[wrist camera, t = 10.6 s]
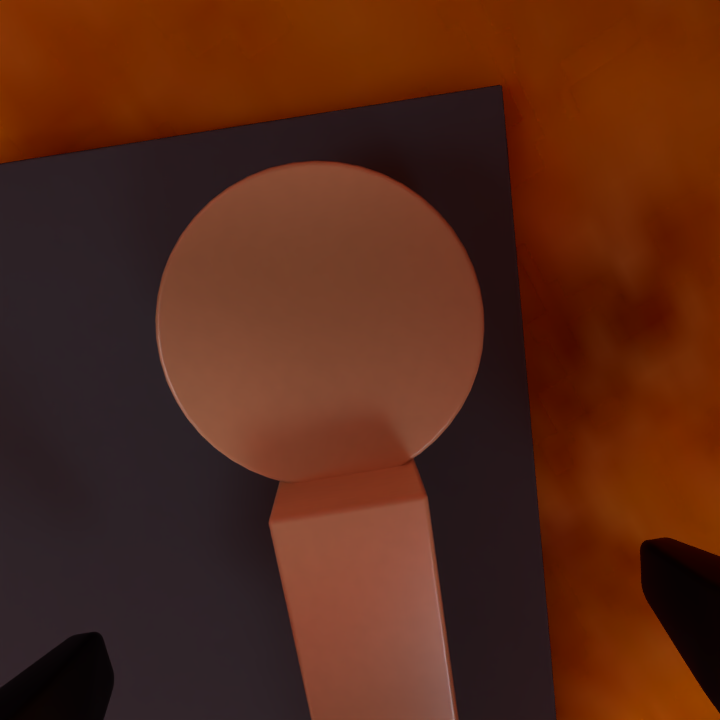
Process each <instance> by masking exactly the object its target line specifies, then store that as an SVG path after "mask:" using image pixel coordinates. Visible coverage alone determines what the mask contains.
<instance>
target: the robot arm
mask: <svg viewBox="0 0 720 720" xmlns="http://www.w3.org/2000/svg"><path fill="white" fill-rule="evenodd" d="M640 561H641V584H642V589H643V593H644V595H645V598H646V600H647V601H648V603H649V605H650V606H651V608H652V610H653V611H654V613H655V614H656V616H657V618H658V619H659V621H660V622H661V624H662V626H663V627H664V629H665V630H666V632H667V634H668V635H669V637H670V638H671V640H672V642H673V643H674V645H675V646H676V648H677V650H678V651H679V653H680V654H681V656H682V658H683V659H684V661H685V662H686V664H687V666H688V667H689V669H690V670H691V672H692V674H693V675H694V677H695V678H696V680H697V681H698V683H699V684H700V686H701V688H702V689H703V691H704V692H705V694H706V695H707V696H708V698H709V699H710V701H711V702H712V703H713V705H714V706H715V707H716V709H717V710H718V712H719V713H720V556H717V555H715V554H712V553H709V552H707V551H704V550H701V549H698V548H696V547H693V546H690V545H688V544H685V543H682V542H679V541H677V540H674V539H671V538H665V537H664V538H658V539H652V540H646V541H644V542H643V543H642V544H641V547H640ZM113 686H114V672H113V668H112V665H111V662H110V658H109V655H108V652H107V649H106V646H105V642H104V639H103V637H102V635H101V634H100V633H98V632H95V631H94V632H88V633H82V634H76V635H73V636H70V637H69V638H67V639H66V640H65V641H63V642H62V643H61V644H59V645H58V646H56V647H55V648H54V649H52V650H51V651H50V652H48V653H47V654H46V655H44V656H43V657H41V658H40V659H39V660H37V661H36V662H35V663H33V664H32V665H31V666H29V667H28V668H27V669H25V670H24V671H22V672H21V673H20V674H18V675H17V676H16V677H14V678H13V679H12V680H10V681H9V682H7V683H6V684H5V685H3V686H2V687H1V688H0V720H104V717H105V714H106V710H107V707H108V704H109V701H110V697H111V694H112V691H113Z"/></svg>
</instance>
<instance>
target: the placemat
mask: <svg viewBox="0 0 720 720" xmlns="http://www.w3.org/2000/svg"><path fill="white" fill-rule="evenodd" d="M305 161H333V162H342V163H347V164H352V165H358V166H362V167H365V168H368V169H371V170H374V171H377V172H380V173H383V174H385V175H387V176H389V177H391V178H393V179H395V180H397V181H399V182H401V183H403V184H404V185H406V186H407V187H409V188H410V189H411V190H413V191H414V192H416V193H417V194H419V195H420V196H422V197H423V198H424V199H425V200H426V201H427V202H428V203H429V204H431V205H432V206H433V207H434V208H435V209H436V210H437V211H438V212H439V213H440V214H441V215H442V217H443V218H444V219H445V220H446V221H447V222H448V224H449V225H450V226H451V227H452V228H453V230H454V231H455V233H456V235H457V236H458V238H459V239H460V241H461V242H462V244H463V246H464V247H465V249H466V251H467V254H468V256H469V258H470V260H471V262H472V264H473V267H474V270H475V273H476V276H477V279H478V283H479V286H480V290H481V296H482V302H483V308H484V339H483V350H482V355H481V359H480V364H479V368H478V372H477V374H476V377H475V380H474V383H473V385H472V388H471V391H470V392H469V394H468V396H467V398H466V400H465V402H464V404H463V406H462V408H461V409H460V411H459V412H458V414H457V415H456V416H455V418H454V419H453V421H452V422H451V424H450V425H449V426H448V427H447V428H446V429H445V431H444V432H443V433H442V434H441V435H440V436H439V437H438V438H437V439H436V440H435V441H434V442H433V443H432V444H431V445H430V446H428V447H427V448H426V449H425V450H424V451H423V452H422V453H420V454H419V455H417V456H416V457H414V460H415V463H416V466H417V469H418V471H419V474H420V477H421V480H422V482H423V485H424V488H425V491H426V493H427V496H428V501H429V509H430V516H431V523H432V530H433V538H434V545H435V552H436V559H437V566H438V574H439V581H440V588H441V595H442V603H443V610H444V617H445V624H446V631H447V639H448V646H449V653H450V660H451V668H452V675H453V682H454V689H455V696H456V704H457V711H458V718H459V720H556V709H555V697H554V685H553V674H552V662H551V650H550V639H549V627H548V616H547V604H546V592H545V581H544V569H543V557H542V546H541V534H540V522H539V511H538V499H537V488H536V476H535V464H534V453H533V441H532V429H531V418H530V406H529V394H528V383H527V371H526V360H525V348H524V336H523V325H522V313H521V301H520V290H519V278H518V267H517V255H516V243H515V232H514V220H513V208H512V197H511V185H510V173H509V162H508V150H507V139H506V127H505V115H504V104H503V92H502V86H500V85H497V86H491V87H484V88H478V89H471V90H465V91H459V92H452V93H446V94H440V95H433V96H427V97H421V98H414V99H408V100H402V101H395V102H389V103H383V104H376V105H370V106H364V107H357V108H351V109H345V110H338V111H332V112H325V113H319V114H313V115H306V116H300V117H294V118H287V119H281V120H275V121H268V122H262V123H256V124H249V125H243V126H237V127H230V128H224V129H218V130H211V131H205V132H198V133H192V134H186V135H179V136H173V137H167V138H160V139H154V140H148V141H141V142H135V143H129V144H122V145H116V146H110V147H103V148H97V149H91V150H84V151H78V152H71V153H65V154H59V155H52V156H46V157H40V158H33V159H27V160H21V161H14V162H8V163H2V164H0V688H1V687H2V686H3V685H5V684H6V683H7V682H9V681H10V680H12V679H13V678H14V677H16V676H17V675H18V674H20V673H21V672H22V671H24V670H25V669H27V668H28V667H29V666H31V665H32V664H33V663H35V662H36V661H37V660H39V659H40V658H41V657H43V656H44V655H46V654H47V653H48V652H50V651H51V650H52V649H54V648H55V647H56V646H58V645H59V644H61V643H62V642H63V641H65V640H66V639H67V638H69V637H70V636H73V635H76V634H82V633H88V632H94V631H95V632H98V633H100V634H101V635H102V637H103V639H104V642H105V646H106V649H107V652H108V655H109V658H110V662H111V665H112V668H113V672H114V686H113V691H112V694H111V697H110V701H109V704H108V707H107V710H106V714H105V717H104V720H311V717H310V712H309V708H308V703H307V698H306V694H305V689H304V685H303V680H302V675H301V671H300V666H299V662H298V657H297V652H296V648H295V643H294V638H293V634H292V629H291V625H290V620H289V615H288V611H287V606H286V602H285V597H284V592H283V588H282V583H281V578H280V574H279V569H278V565H277V560H276V555H275V551H274V546H273V541H272V537H271V532H270V528H269V519H270V515H271V512H272V508H273V504H274V500H275V497H276V493H277V489H278V486H279V482H280V481H278V480H275V479H271V478H268V477H265V476H263V475H260V474H258V473H255V472H253V471H250V470H248V469H247V468H245V467H243V466H241V465H239V464H238V463H236V462H234V461H232V460H231V459H229V458H228V457H227V456H225V455H224V454H222V453H221V452H220V451H218V450H217V449H216V448H214V447H213V446H212V445H211V444H210V443H209V442H208V441H207V440H206V439H205V438H204V437H203V436H202V435H201V434H200V433H199V432H198V431H197V430H196V429H195V427H194V426H193V425H192V424H191V423H190V421H189V420H188V419H187V418H186V416H185V414H184V413H183V411H182V410H181V408H180V407H179V405H178V403H177V402H176V400H175V398H174V396H173V394H172V392H171V389H170V387H169V385H168V383H167V381H166V378H165V375H164V371H163V368H162V365H161V362H160V357H159V352H158V346H157V341H156V322H155V316H156V305H157V295H158V291H159V287H160V282H161V278H162V274H163V272H164V269H165V266H166V264H167V261H168V258H169V256H170V254H171V252H172V250H173V248H174V246H175V244H176V243H177V241H178V239H179V237H180V235H181V234H182V233H183V231H184V230H185V229H186V227H187V226H188V225H189V223H190V222H191V221H192V219H193V218H194V217H195V216H196V215H197V214H198V213H199V212H200V211H201V210H202V209H203V208H204V207H205V206H206V205H207V204H208V203H209V202H210V201H211V200H212V199H213V198H215V197H216V196H217V195H219V194H220V193H221V192H223V191H224V190H225V189H226V188H228V187H229V186H231V185H233V184H235V183H237V182H238V181H240V180H242V179H244V178H246V177H247V176H250V175H252V174H255V173H257V172H260V171H263V170H265V169H268V168H271V167H275V166H280V165H284V164H288V163H293V162H305Z"/></svg>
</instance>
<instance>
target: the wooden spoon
mask: <svg viewBox="0 0 720 720" xmlns="http://www.w3.org/2000/svg"><path fill="white" fill-rule="evenodd" d="M155 322H156V341H157V346H158V352H159V357H160V362H161V365H162V368H163V371H164V375H165V378H166V381H167V383H168V385H169V387H170V389H171V392H172V394H173V396H174V398H175V400H176V402H177V403H178V405H179V407H180V408H181V410H182V411H183V413H184V414H185V416H186V418H187V419H188V420H189V421H190V423H191V424H192V425H193V426H194V427H195V429H196V430H197V431H198V432H199V433H200V434H201V435H202V436H203V437H204V438H205V439H206V440H207V441H208V442H209V443H210V444H211V445H212V446H213V447H214V448H216V449H217V450H218V451H220V452H221V453H222V454H224V455H225V456H227V457H228V458H229V459H231V460H232V461H234V462H236V463H238V464H239V465H241V466H243V467H245V468H247V469H248V470H250V471H253V472H255V473H258V474H260V475H263V476H265V477H268V478H271V479H275V480H278V481H280V482H279V486H278V489H277V493H276V497H275V500H274V504H273V508H272V512H271V515H270V519H269V528H270V532H271V537H272V541H273V546H274V551H275V555H276V560H277V565H278V569H279V574H280V578H281V583H282V588H283V592H284V597H285V602H286V606H287V611H288V615H289V620H290V625H291V629H292V634H293V638H294V643H295V648H296V652H297V657H298V662H299V666H300V671H301V675H302V680H303V685H304V689H305V694H306V698H307V703H308V708H309V712H310V717H311V720H459V718H458V711H457V704H456V696H455V689H454V682H453V675H452V668H451V660H450V653H449V646H448V639H447V631H446V624H445V617H444V610H443V603H442V595H441V588H440V581H439V574H438V566H437V559H436V552H435V545H434V538H433V530H432V523H431V516H430V509H429V501H428V496H427V493H426V491H425V488H424V485H423V482H422V480H421V477H420V474H419V471H418V469H417V466H416V463H415V460H414V457H416V456H417V455H419V454H420V453H422V452H423V451H424V450H425V449H426V448H427V447H428V446H430V445H431V444H432V443H433V442H434V441H435V440H436V439H437V438H438V437H439V436H440V435H441V434H442V433H443V432H444V431H445V429H446V428H447V427H448V426H449V425H450V424H451V422H452V421H453V419H454V418H455V416H456V415H457V414H458V412H459V411H460V409H461V408H462V406H463V404H464V402H465V400H466V398H467V396H468V394H469V392H470V391H471V388H472V385H473V383H474V380H475V377H476V374H477V372H478V368H479V364H480V359H481V355H482V350H483V339H484V308H483V302H482V296H481V290H480V286H479V283H478V279H477V276H476V273H475V270H474V267H473V264H472V262H471V260H470V258H469V256H468V254H467V251H466V249H465V247H464V246H463V244H462V242H461V241H460V239H459V238H458V236H457V235H456V233H455V231H454V230H453V228H452V227H451V226H450V225H449V224H448V222H447V221H446V220H445V219H444V218H443V217H442V215H441V214H440V213H439V212H438V211H437V210H436V209H435V208H434V207H433V206H432V205H431V204H429V203H428V202H427V201H426V200H425V199H424V198H423V197H422V196H420V195H419V194H417V193H416V192H414V191H413V190H411V189H410V188H409V187H407V186H406V185H404V184H403V183H401V182H399V181H397V180H395V179H393V178H391V177H389V176H387V175H385V174H383V173H380V172H377V171H374V170H371V169H368V168H365V167H362V166H358V165H352V164H347V163H342V162H333V161H305V162H293V163H288V164H284V165H280V166H275V167H271V168H268V169H265V170H263V171H260V172H257V173H255V174H252V175H250V176H247V177H246V178H244V179H242V180H240V181H238V182H237V183H235V184H233V185H231V186H229V187H228V188H226V189H225V190H224V191H223V192H221V193H220V194H219V195H217V196H216V197H215V198H213V199H212V200H211V201H210V202H209V203H208V204H207V205H206V206H205V207H204V208H203V209H202V210H201V211H200V212H199V213H198V214H197V215H196V216H195V217H194V218H193V219H192V221H191V222H190V223H189V225H188V226H187V227H186V229H185V230H184V231H183V233H182V234H181V235H180V237H179V239H178V241H177V243H176V244H175V246H174V248H173V250H172V252H171V254H170V256H169V258H168V261H167V264H166V266H165V269H164V272H163V274H162V278H161V282H160V287H159V291H158V295H157V305H156V316H155Z"/></svg>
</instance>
